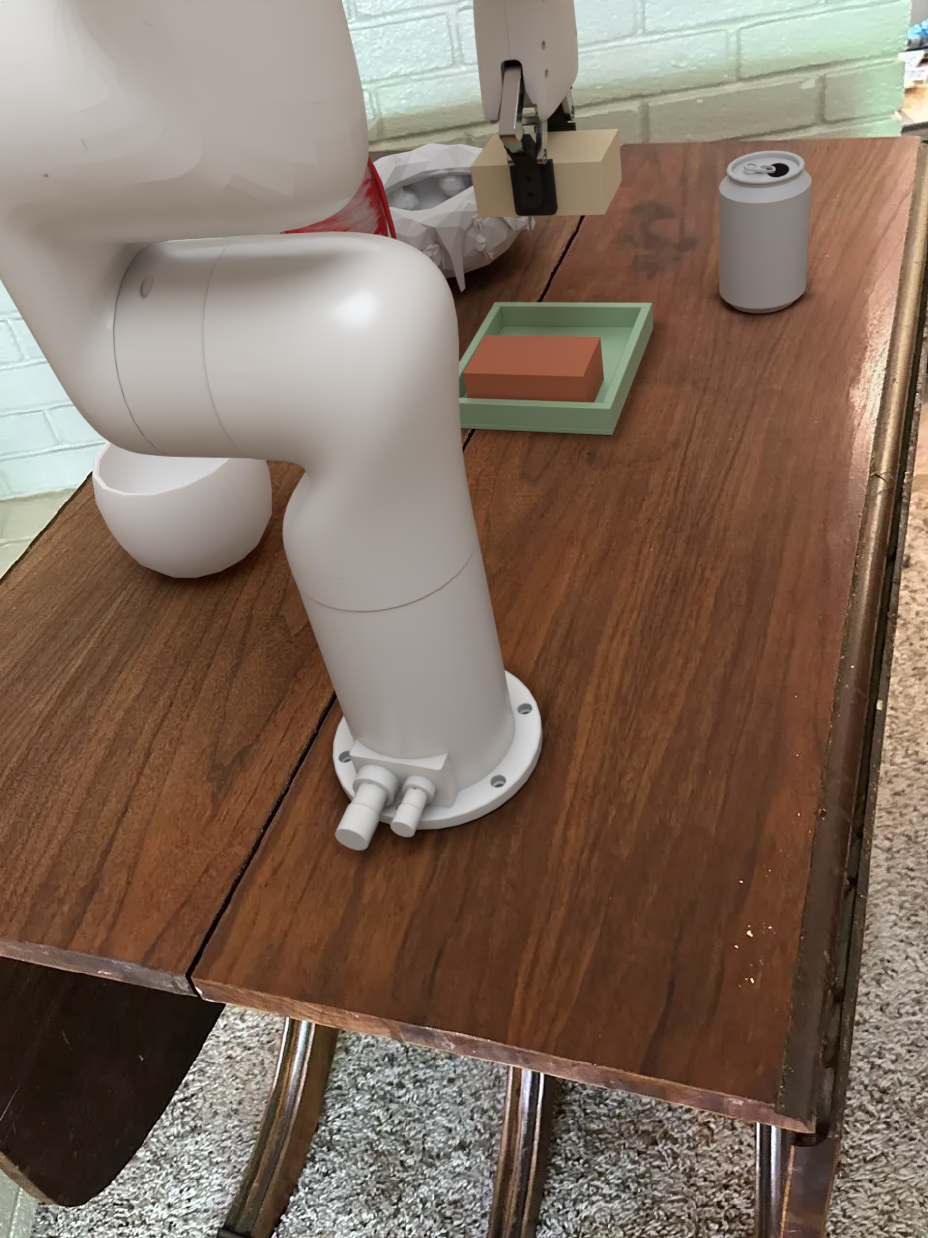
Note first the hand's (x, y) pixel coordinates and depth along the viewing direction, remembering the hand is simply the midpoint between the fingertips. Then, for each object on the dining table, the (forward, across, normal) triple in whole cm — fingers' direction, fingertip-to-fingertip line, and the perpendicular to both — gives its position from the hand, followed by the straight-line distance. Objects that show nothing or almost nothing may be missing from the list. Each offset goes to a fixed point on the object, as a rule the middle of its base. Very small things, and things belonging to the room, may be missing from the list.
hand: (548, 192), depth 84 cm
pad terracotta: (+15, +6, -1) cm, 16 cm away
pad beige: (+1, 0, 0) cm, 1 cm away
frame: (+15, +2, -1) cm, 15 cm away
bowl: (+16, -18, -18) cm, 30 cm away
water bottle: (+16, +8, -16) cm, 24 cm away
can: (+16, -12, +15) cm, 25 cm away
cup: (+15, +28, -21) cm, 38 cm away
